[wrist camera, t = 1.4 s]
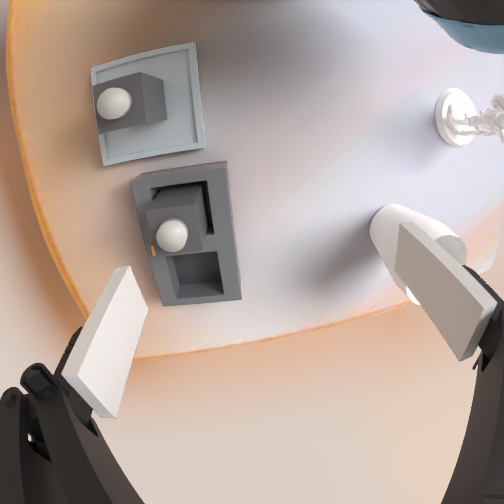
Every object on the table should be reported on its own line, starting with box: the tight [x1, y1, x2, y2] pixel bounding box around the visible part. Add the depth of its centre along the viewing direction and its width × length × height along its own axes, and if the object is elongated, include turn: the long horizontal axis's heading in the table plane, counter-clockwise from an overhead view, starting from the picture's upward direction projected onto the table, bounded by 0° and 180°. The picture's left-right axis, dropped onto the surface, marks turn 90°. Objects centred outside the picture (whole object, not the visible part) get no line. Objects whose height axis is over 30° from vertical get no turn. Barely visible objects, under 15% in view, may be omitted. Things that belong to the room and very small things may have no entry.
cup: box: [370, 204, 467, 305], centre depth 31 cm, size 9×9×12 cm
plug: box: [92, 72, 167, 135], centre depth 22 cm, size 4×4×10 cm
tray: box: [90, 42, 207, 166], centre depth 27 cm, size 12×12×2 cm
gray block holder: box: [131, 161, 242, 306], centre depth 30 cm, size 16×10×10 cm, turn 5°
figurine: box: [435, 88, 504, 147], centre depth 22 cm, size 9×9×15 cm
